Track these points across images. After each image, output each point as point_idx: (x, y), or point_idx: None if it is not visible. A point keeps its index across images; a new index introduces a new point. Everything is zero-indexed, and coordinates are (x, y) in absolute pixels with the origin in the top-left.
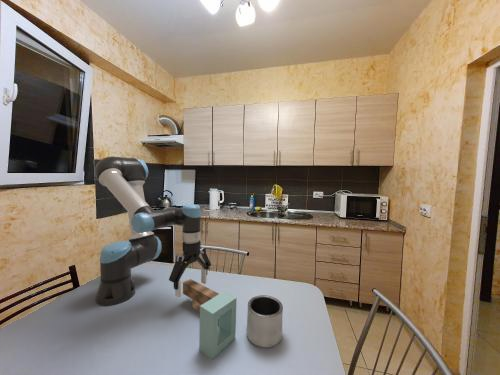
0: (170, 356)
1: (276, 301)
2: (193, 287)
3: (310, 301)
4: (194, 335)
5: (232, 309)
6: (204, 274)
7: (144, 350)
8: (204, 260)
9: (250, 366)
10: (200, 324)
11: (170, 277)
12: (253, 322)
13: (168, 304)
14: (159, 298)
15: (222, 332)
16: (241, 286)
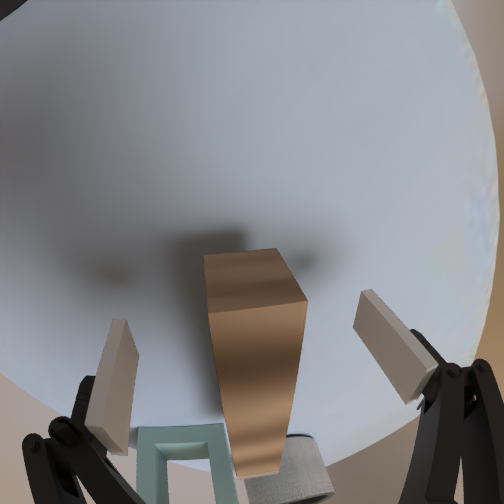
0: (73, 404)
1: (322, 499)
2: (228, 406)
3: (414, 413)
4: (144, 402)
5: None
6: (389, 371)
7: (16, 356)
8: (480, 421)
9: (200, 467)
10: (137, 485)
11: (33, 468)
12: (248, 496)
13: (125, 186)
14: (116, 81)
15: (201, 451)
16: (443, 301)
